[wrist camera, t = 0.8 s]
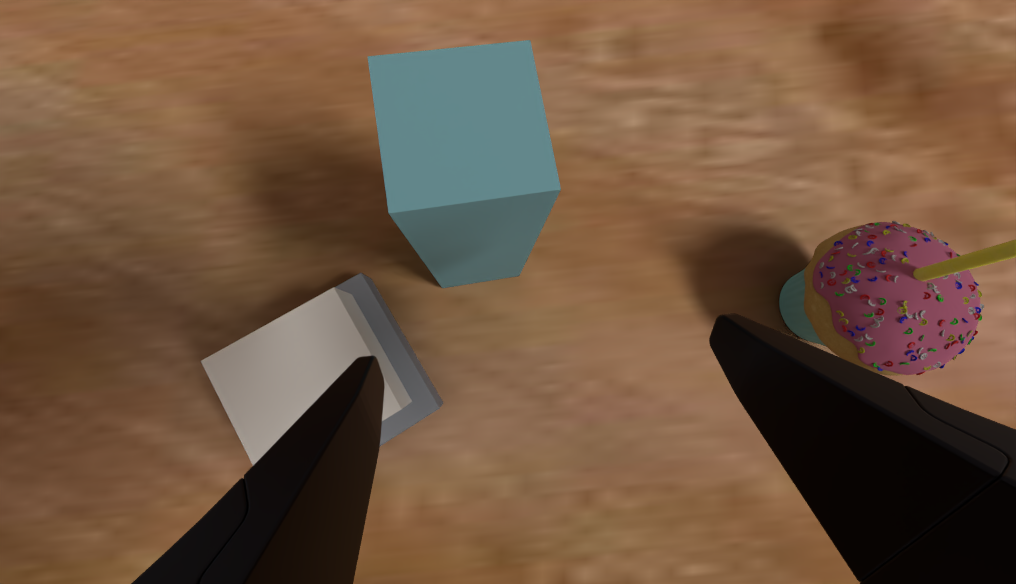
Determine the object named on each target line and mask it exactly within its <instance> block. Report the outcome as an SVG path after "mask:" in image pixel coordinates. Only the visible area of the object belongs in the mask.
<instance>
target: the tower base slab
mask: <svg viewBox="0 0 1016 584" xmlns="http://www.w3.org/2000/svg"><path fill="white" fill-rule="evenodd" d="M334 288H337V289H339V290H342V291H344V292H347V293H350V294H352V295H353V297H354V299H355V301H356V302H357V304H358V306H359V308H360V309H361V311H362V313H363V315H364V317H365V318H366V320H367V322H368V324H369V325H370V327H371V329H372V331H373V333H374V334H375V336H376V338H377V340H378V341H379V343H380V345H381V347H382V349H383V350H384V352H385V354H386V356H387V357H388V359H389V361H390V363H391V365H392V366H393V368H394V370H395V372H396V373H397V375H398V377H399V379H400V381H401V382H402V384H403V386H404V388H405V389H406V391H407V393H408V395H409V397H410V398H411V400H412V402H411V403H410V404H408V405H407V406H405V407H404V408H403V409H401V410H400V411H398V412H396V413H395V414H393V415H392V416H390V417H388V418H387V419H385V420H383V421H382V427H381V439H380V446H381V445H383V444H384V443H386V442H387V441H389V440H391V439H392V438H394V437H395V436H397V435H398V434H400V433H402V432H403V431H405V430H406V429H408V428H409V427H411V426H413V425H414V424H416V423H417V422H419V421H420V420H422V419H424V418H425V417H427V416H428V415H430V414H431V413H433V412H434V411H436V410H438V409H439V408H440V407H441V406H442V404H443V401H442V399H441V398H440V396H439V394H438V393H437V391H436V389H435V387H434V386H433V384H432V382H431V381H430V379H429V377H428V375H427V374H426V372H425V370H424V369H423V367H422V365H421V363H420V362H419V360H418V358H417V357H416V355H415V353H414V351H413V350H412V348H411V346H410V345H409V343H408V341H407V339H406V338H405V336H404V334H403V332H402V331H401V329H400V327H399V326H398V324H397V322H396V320H395V319H394V317H393V315H392V314H391V312H390V310H389V308H388V307H387V305H386V303H385V302H384V300H383V298H382V296H381V295H380V293H379V291H378V290H377V288H376V286H375V284H374V283H373V281H372V279H371V278H369V277H367V276H366V275H364V274H362V273H359V274H358V275H356V276H354V277H352V278H351V279H349V280H347V281H345V282H343V283H342V284H340V285H338V286H336V287H334Z"/></svg>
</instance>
